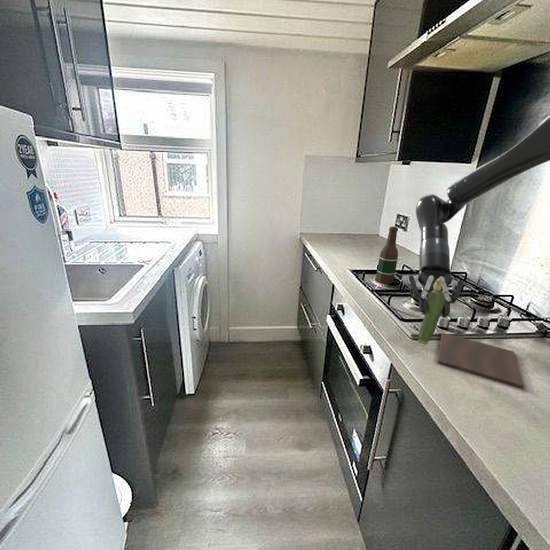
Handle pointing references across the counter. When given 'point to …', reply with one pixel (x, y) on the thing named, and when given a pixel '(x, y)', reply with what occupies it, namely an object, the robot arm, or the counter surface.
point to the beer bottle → (388, 259)
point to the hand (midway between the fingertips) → (434, 314)
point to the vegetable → (432, 313)
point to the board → (480, 359)
